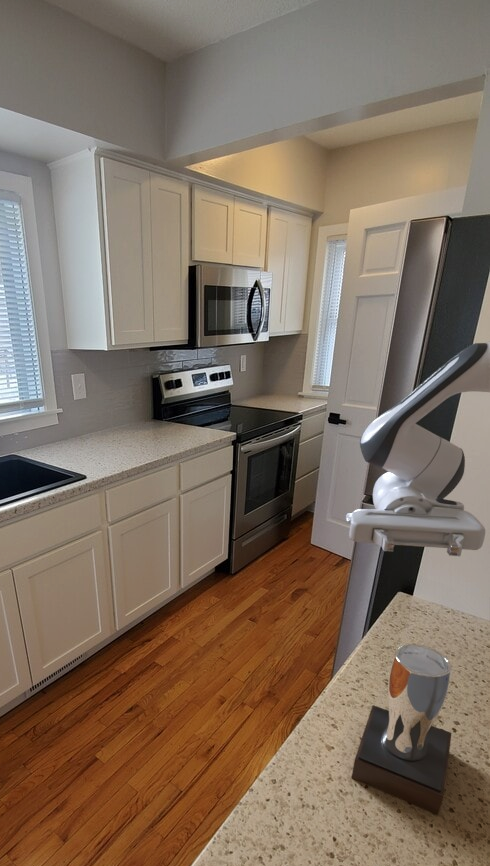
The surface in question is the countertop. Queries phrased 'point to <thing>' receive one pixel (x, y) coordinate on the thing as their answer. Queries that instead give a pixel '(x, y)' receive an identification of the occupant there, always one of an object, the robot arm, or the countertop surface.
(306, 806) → the countertop surface
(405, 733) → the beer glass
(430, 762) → the riser
